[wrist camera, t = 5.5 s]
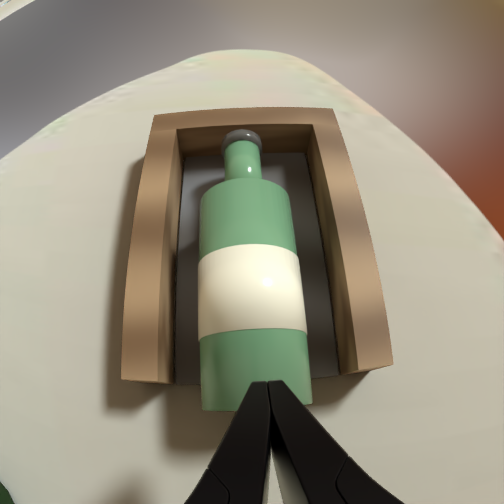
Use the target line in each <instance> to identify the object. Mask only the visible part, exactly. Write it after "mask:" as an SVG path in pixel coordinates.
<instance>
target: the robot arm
mask: <svg viewBox="0 0 504 504" xmlns="http://www.w3.org/2000/svg"><path fill="white" fill-rule="evenodd" d="M271 452H272V457H273V462H274V466H275V470H276V474H277V478H278V483H279V487H280V491H281V495H282V499H283V503H284V504H404V503H403V502H402V501H400V500H399V499H398V498H396V497H395V496H394V495H392V494H391V493H390V492H388V491H387V490H386V489H384V488H383V487H382V486H381V485H379V484H378V483H377V482H376V481H375V480H373V479H372V478H371V477H370V476H369V475H368V474H367V473H366V472H365V471H364V470H363V469H362V468H361V467H360V466H359V465H358V464H357V463H356V462H355V461H354V460H353V459H352V458H351V457H350V456H349V457H348V454H347V453H346V452H345V450H344V449H343V448H342V447H341V446H340V445H339V444H338V443H337V442H336V441H335V440H334V438H333V437H332V436H331V435H330V434H329V433H328V432H327V431H326V430H325V428H324V427H323V426H322V425H321V424H320V423H319V422H318V421H317V419H316V418H315V417H314V416H313V415H312V414H311V413H310V411H309V410H308V409H307V408H306V407H305V406H304V405H303V403H302V402H301V401H300V400H299V399H298V398H297V396H296V395H295V394H294V393H293V392H292V391H291V389H290V388H289V387H288V386H287V385H286V384H285V382H284V381H283V380H269V381H268V382H266V381H253V382H252V383H251V384H250V386H249V388H248V390H247V392H246V394H245V396H244V398H243V400H242V402H241V404H240V406H239V408H238V410H237V412H236V414H235V416H234V418H233V420H232V422H231V424H230V425H229V427H228V429H227V431H226V433H225V435H224V437H223V439H222V441H221V443H220V444H219V446H218V448H217V450H216V452H215V454H214V456H213V457H212V459H211V461H210V463H209V465H208V469H206V470H205V472H204V473H203V475H202V477H201V479H200V480H199V482H198V484H197V485H196V487H195V489H194V490H193V492H192V493H191V495H190V496H189V497H188V499H187V500H186V501H185V503H184V504H267V502H268V489H269V475H270V460H271Z"/></svg>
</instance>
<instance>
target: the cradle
mask: <svg viewBox="0 0 504 504" xmlns="http://www.w3.org/2000/svg"><path fill="white" fill-rule="evenodd" d="M240 129H245V130H250V131H253V132H255V133H256V134H257V135H258V136H259V137H260V139H261V143H262V154H261V156H260V161H261V171H262V179H264V180H268V181H271V182H273V183H275V184H277V185H279V186H280V187H282V188H283V189H284V190H285V191H286V192H287V194H288V196H289V200H290V207H291V214H292V221H293V228H294V235H295V242H296V250H297V257H298V259H299V266H300V274H301V282H302V290H303V298H304V307H305V316H306V325H307V344H308V354H309V365H310V376H311V379H312V378H321V377H330V376H337V375H338V365H337V355H336V345H335V336H334V328H333V319H332V311H331V304H330V296H329V289H328V282H327V275H326V268H325V261H324V255H323V249H322V243H321V236H320V231H319V225H318V219H317V213H316V208H315V202H314V197H313V192H312V186H311V181H310V176H309V171H308V166H307V161H306V157H305V155H307V159H308V164H309V169H310V174H311V179H312V184H313V189H314V194H315V199H316V205H317V210H318V216H319V221H320V227H321V233H322V239H323V245H324V251H325V257H326V263H327V270H328V277H329V284H330V291H331V298H332V305H333V313H334V321H335V329H336V338H337V347H338V356H339V366H340V375H345V374H352V373H359V372H365V371H371V370H375V369H379V368H382V367H386V366H390V365H393V356H392V348H391V341H390V334H389V328H388V321H387V315H386V309H385V303H384V298H383V292H382V287H381V282H380V277H379V272H378V267H377V262H376V258H375V253H374V249H373V244H372V240H371V236H370V231H369V227H368V223H367V219H366V215H365V211H364V208H363V204H362V200H361V196H360V193H359V189H358V186H357V182H356V179H355V175H354V172H353V169H352V165H351V162H350V159H349V156H348V152H347V149H346V146H345V143H344V140H343V137H342V134H341V131H340V128H339V125H338V122H337V119H336V116H335V114H334V111H333V109H330V108H303V107H255V108H229V109H212V110H199V111H187V112H177V113H168V114H160V115H154V118H153V123H152V127H151V131H150V135H149V140H148V144H147V149H146V154H145V158H144V163H143V168H142V174H141V179H140V184H139V190H138V196H137V202H136V208H135V214H134V221H133V227H132V235H131V242H130V250H129V258H128V267H127V277H126V288H125V300H124V313H123V330H122V354H121V379H123V380H128V381H134V382H140V383H155V384H174V360H173V343H174V292H175V267H176V248H177V232H178V217H179V205H180V193H181V182H182V171H183V162H184V160H185V167H184V178H183V189H182V201H181V214H180V229H179V245H178V265H177V290H176V384H201V377H200V344H199V341H198V264H199V225H200V202H201V199H202V197H203V195H204V194H205V193H206V192H207V191H208V190H209V189H210V188H212V187H213V186H215V185H217V184H219V183H222V182H224V181H225V173H224V158H223V156H222V154H221V142H222V139H223V138H224V136H225V135H226V134H228V133H230V132H232V131H235V130H240Z"/></svg>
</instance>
